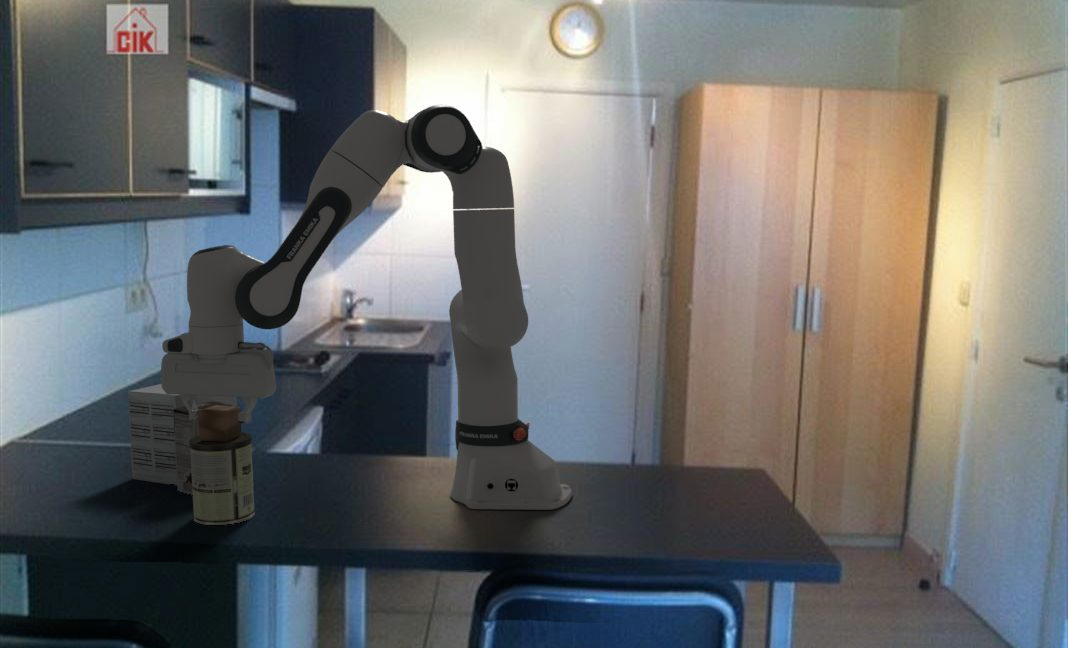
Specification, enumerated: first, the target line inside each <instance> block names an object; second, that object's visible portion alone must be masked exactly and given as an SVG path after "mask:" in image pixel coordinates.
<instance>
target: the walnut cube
mask: <svg viewBox="0 0 1068 648" xmlns="http://www.w3.org/2000/svg"><path fill="white" fill-rule="evenodd" d="M240 412H242V411H241V406H238V405H237V406H219V405H215V406H212V407H209V408H206V409H203V410H201V411H198V418H199V440H203V441H220V442H227V441H229V440H231V439H234V438H236V437H239V436H241V435H242V433H241V432H242V423H239V421H238V419H239V417H238V413H240Z"/></svg>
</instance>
